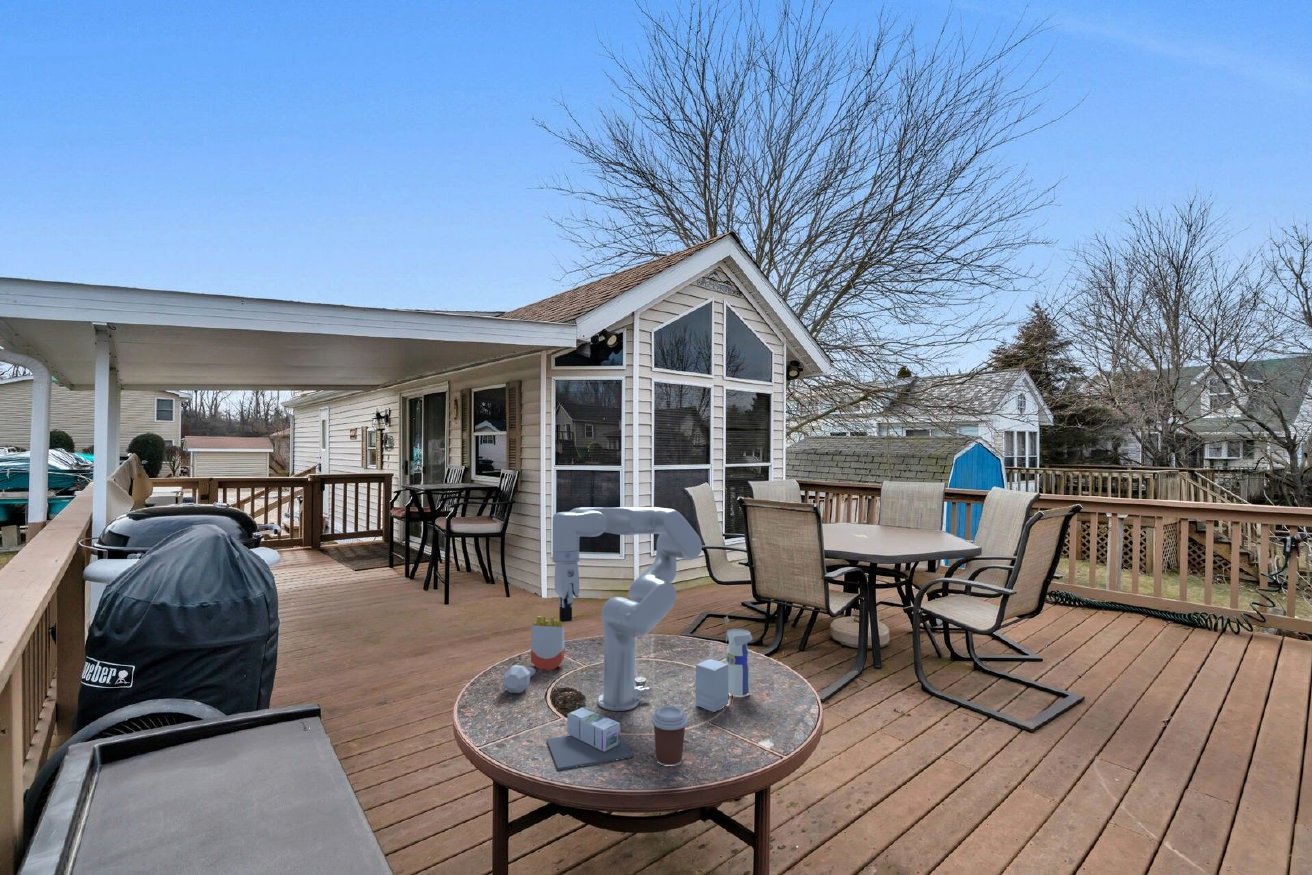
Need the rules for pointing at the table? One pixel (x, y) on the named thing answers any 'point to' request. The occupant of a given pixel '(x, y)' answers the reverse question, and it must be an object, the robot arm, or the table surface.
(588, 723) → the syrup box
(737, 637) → the spray bottle
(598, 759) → the rubber mat
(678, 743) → the coffee cup
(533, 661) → the french fries container
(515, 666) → the chicken leg
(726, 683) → the supplement box
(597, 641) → the table surface
